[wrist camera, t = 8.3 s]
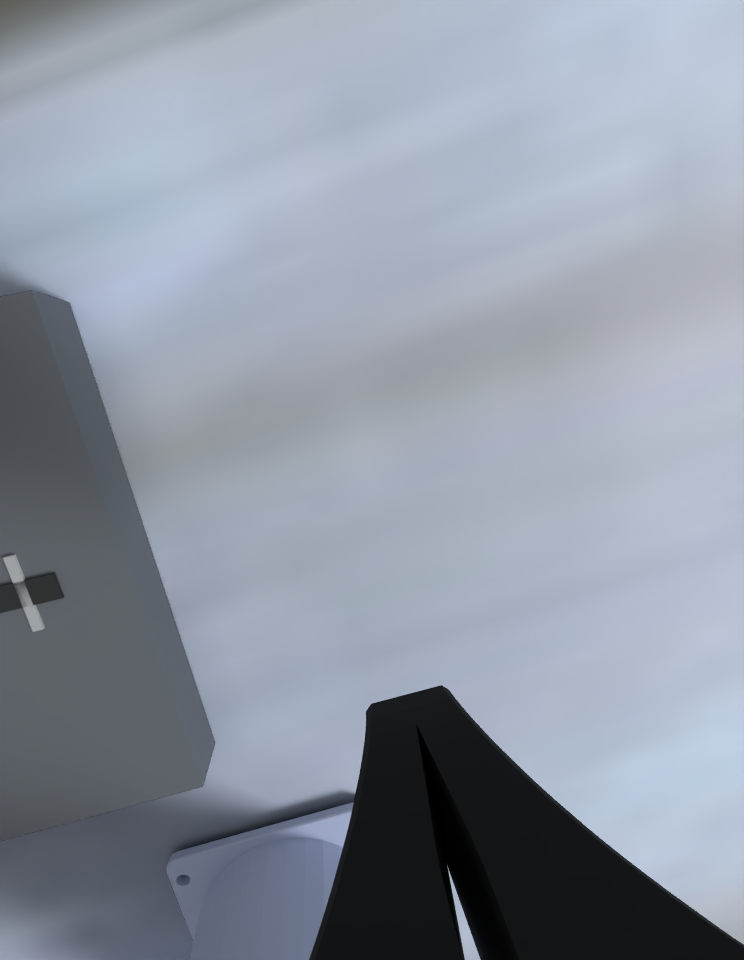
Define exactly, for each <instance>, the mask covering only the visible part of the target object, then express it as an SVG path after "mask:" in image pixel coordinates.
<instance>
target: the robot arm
mask: <svg viewBox="0 0 744 960" xmlns="http://www.w3.org/2000/svg"><path fill="white" fill-rule="evenodd" d="M447 866H448V868H449V871H450V874H451V877H452V880H453V883H454V885H455V888H456V891H457V894H458V897H459V900H460V902H461V905H462V908H463V911H464V914H465V917H466V919H467V922H468V925H469V928H470V931H471V933H472V936H473V939H474V942H475V945H476V948H477V950H478V953H479V956H480V959H481V960H744V945H743V944H742V943H740V942H739V941H737V940H736V939H734V938H733V937H731V936H730V935H728V934H727V933H726V932H724V931H723V930H721V929H720V928H719V927H717V926H716V925H714V924H713V923H712V922H710V921H709V920H707V919H706V918H705V917H703V916H702V915H700V914H699V913H698V912H696V911H695V910H694V909H692V908H691V907H689V906H688V905H687V904H685V903H684V902H682V901H681V900H680V899H678V898H677V897H675V896H674V895H673V894H671V893H670V892H669V891H667V890H666V889H665V888H663V887H662V886H661V885H659V884H658V883H657V882H655V881H654V880H653V879H651V878H650V877H649V876H647V875H646V874H645V873H644V872H642V871H641V870H640V869H638V868H637V867H636V866H634V865H633V864H632V863H630V862H629V861H628V860H626V859H625V858H624V857H623V856H621V855H620V854H619V853H618V852H616V851H615V850H614V849H613V848H611V847H610V846H609V845H608V844H606V843H605V842H604V841H603V840H601V839H600V838H599V837H598V836H597V835H595V834H594V833H593V832H592V831H591V830H589V829H588V828H587V827H586V826H585V825H583V824H582V823H581V822H580V821H579V820H578V819H576V818H575V817H574V816H573V815H572V814H571V813H570V812H568V811H567V810H566V809H565V808H564V807H563V806H561V805H560V804H559V803H558V802H557V801H556V800H554V799H553V798H552V797H551V796H550V795H549V794H548V793H547V792H546V791H545V790H543V789H542V788H541V787H540V786H539V785H538V784H537V783H536V782H535V781H534V780H533V779H531V778H530V777H529V776H528V775H527V774H526V773H525V772H524V771H523V770H522V769H521V768H520V767H519V766H518V765H517V764H516V763H515V762H514V761H513V760H512V759H511V758H510V757H509V756H508V755H507V754H506V753H505V752H504V751H502V749H501V748H500V747H499V746H498V745H497V744H496V743H495V742H494V741H493V740H492V739H491V738H490V737H489V736H488V735H487V734H486V733H485V732H484V731H483V730H482V729H481V728H480V726H479V725H478V724H477V723H476V722H475V721H474V720H473V719H472V718H471V717H470V715H469V714H468V713H467V712H466V711H465V710H464V708H463V707H462V706H461V705H460V704H459V702H458V701H457V700H456V699H455V697H454V696H453V695H452V694H451V692H450V691H449V690H448V689H447V688H445V687H443V686H442V685H441V686H437V687H433V688H430V689H426V690H422V691H418V692H414V693H411V694H407V695H403V696H399V697H396V698H392V699H388V700H384V701H381V702H377V703H373V704H371V705H370V707H369V708H368V710H367V711H366V733H365V743H364V750H363V757H362V763H361V769H360V775H359V780H358V784H357V789H356V794H355V799H354V802H352V803H349V804H345V805H341V806H338V807H334V808H331V809H327V810H324V811H320V812H316V813H313V814H309V815H306V816H302V817H298V818H295V819H291V820H288V821H284V822H281V823H277V824H273V825H270V826H266V827H263V828H259V829H255V830H252V831H248V832H245V833H241V834H238V835H234V836H230V837H227V838H223V839H220V840H216V841H213V842H209V843H205V844H202V845H198V846H195V847H191V848H187V849H184V850H180V851H177V852H175V853H173V854H172V855H171V856H170V858H169V861H168V864H167V867H166V871H167V875H168V877H169V880H170V883H171V885H172V888H173V890H174V893H175V895H176V898H177V901H178V903H179V906H180V908H181V911H182V914H183V916H184V919H185V921H186V924H187V927H188V929H189V932H190V934H191V937H192V940H193V944H192V949H191V953H190V958H189V960H465V959H464V953H463V948H462V943H461V937H460V932H459V926H458V921H457V916H456V910H455V905H454V900H453V894H452V889H451V884H450V878H449V873H448V868H447ZM184 875H185V876H184Z"/></svg>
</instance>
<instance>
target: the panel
mask: <svg viewBox="0 0 744 960" xmlns="http://www.w3.org/2000/svg"><path fill="white" fill-rule="evenodd" d="M214 746H215V740H214V737H213V734H212V731H211V728H210V725H209V722H208V719H207V716H206V713H205V710H204V707H203V704H202V701H201V698H200V695H199V692H198V689H197V686H196V683H195V680H194V677H193V674H192V671H191V668H190V665H189V662H188V659H187V656H186V653H185V650H184V647H183V644H182V641H181V638H180V635H179V632H178V629H177V626H176V623H175V620H174V617H173V614H172V611H171V608H170V605H169V602H168V599H167V596H166V593H165V589H164V586H163V583H162V580H161V577H160V574H159V571H158V568H157V565H156V562H155V559H154V556H153V553H152V550H151V547H150V544H149V541H148V538H147V535H146V532H145V529H144V526H143V523H142V520H141V517H140V514H139V511H138V508H137V505H136V502H135V499H134V496H133V493H132V490H131V487H130V484H129V481H128V478H127V475H126V472H125V469H124V466H123V463H122V460H121V457H120V454H119V451H118V448H117V445H116V442H115V438H114V435H113V432H112V429H111V426H110V423H109V420H108V417H107V414H106V411H105V408H104V405H103V402H102V399H101V396H100V393H99V390H98V387H97V384H96V381H95V378H94V375H93V372H92V369H91V366H90V363H89V360H88V357H87V354H86V351H85V348H84V345H83V342H82V339H81V336H80V333H79V330H78V327H77V324H76V321H75V318H74V315H73V312H72V309H71V306H70V303H69V302H66V301H63V300H59V299H56V298H53V297H50V296H47V295H44V294H41V293H38V292H35V291H32V290H31V291H26V292H21V293H15V294H10V295H5V296H0V841H4V840H7V839H11V838H15V837H18V836H22V835H26V834H29V833H33V832H37V831H41V830H44V829H48V828H52V827H55V826H59V825H63V824H66V823H70V822H74V821H77V820H81V819H85V818H89V817H92V816H96V815H100V814H103V813H107V812H111V811H114V810H118V809H122V808H125V807H129V806H133V805H137V804H140V803H144V802H148V801H151V800H155V799H159V798H162V797H166V796H170V795H173V794H177V793H181V792H185V791H188V790H192V789H196V788H199V787H203V785H204V782H205V778H206V775H207V771H208V767H209V764H210V760H211V756H212V753H213V749H214Z"/></svg>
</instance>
